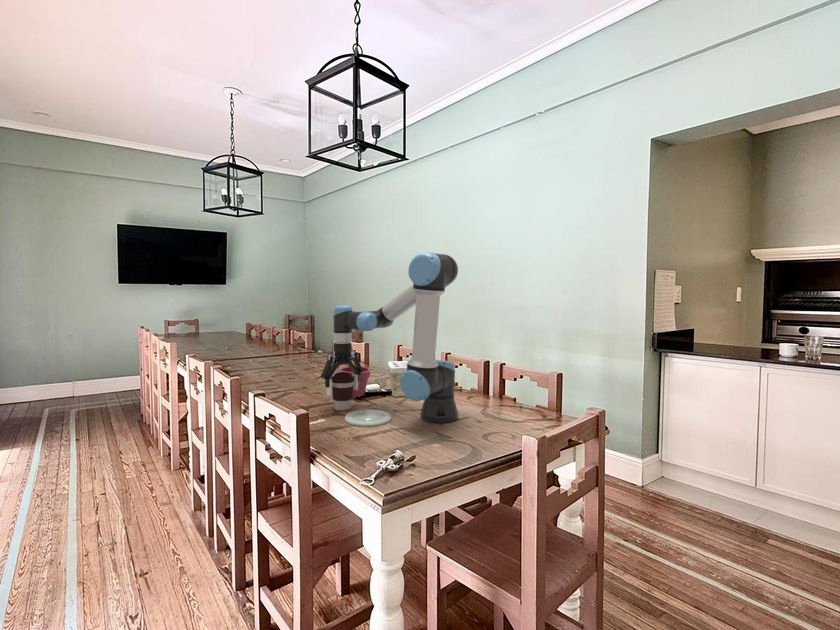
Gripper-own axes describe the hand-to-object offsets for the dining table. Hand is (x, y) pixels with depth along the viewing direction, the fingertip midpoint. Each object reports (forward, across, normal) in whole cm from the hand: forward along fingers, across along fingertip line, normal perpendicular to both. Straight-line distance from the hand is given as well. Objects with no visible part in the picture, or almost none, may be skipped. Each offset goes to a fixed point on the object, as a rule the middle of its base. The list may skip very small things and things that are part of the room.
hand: (342, 392), depth 189 cm
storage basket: (+7, -40, +3) cm, 41 cm away
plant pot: (+7, -17, -13) cm, 23 cm away
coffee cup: (+7, 0, 0) cm, 7 cm away
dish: (+7, +2, +19) cm, 20 cm away
